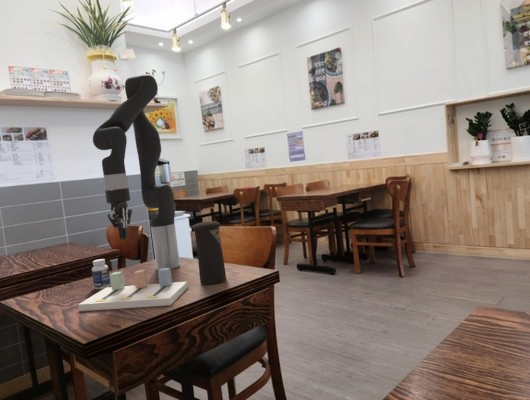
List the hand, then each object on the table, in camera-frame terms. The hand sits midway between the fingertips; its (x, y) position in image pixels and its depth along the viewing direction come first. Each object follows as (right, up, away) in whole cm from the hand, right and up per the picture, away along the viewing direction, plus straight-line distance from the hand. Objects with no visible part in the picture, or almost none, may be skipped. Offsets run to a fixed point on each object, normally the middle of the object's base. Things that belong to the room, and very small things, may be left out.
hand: (123, 239), depth 137 cm
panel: (+8, -17, -12) cm, 23 cm away
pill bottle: (-10, -18, +6) cm, 21 cm away
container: (+30, -14, -2) cm, 34 cm away
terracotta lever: (+9, -14, -8) cm, 18 cm away
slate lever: (+16, -14, -9) cm, 23 cm away
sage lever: (+1, -15, -7) cm, 17 cm away
